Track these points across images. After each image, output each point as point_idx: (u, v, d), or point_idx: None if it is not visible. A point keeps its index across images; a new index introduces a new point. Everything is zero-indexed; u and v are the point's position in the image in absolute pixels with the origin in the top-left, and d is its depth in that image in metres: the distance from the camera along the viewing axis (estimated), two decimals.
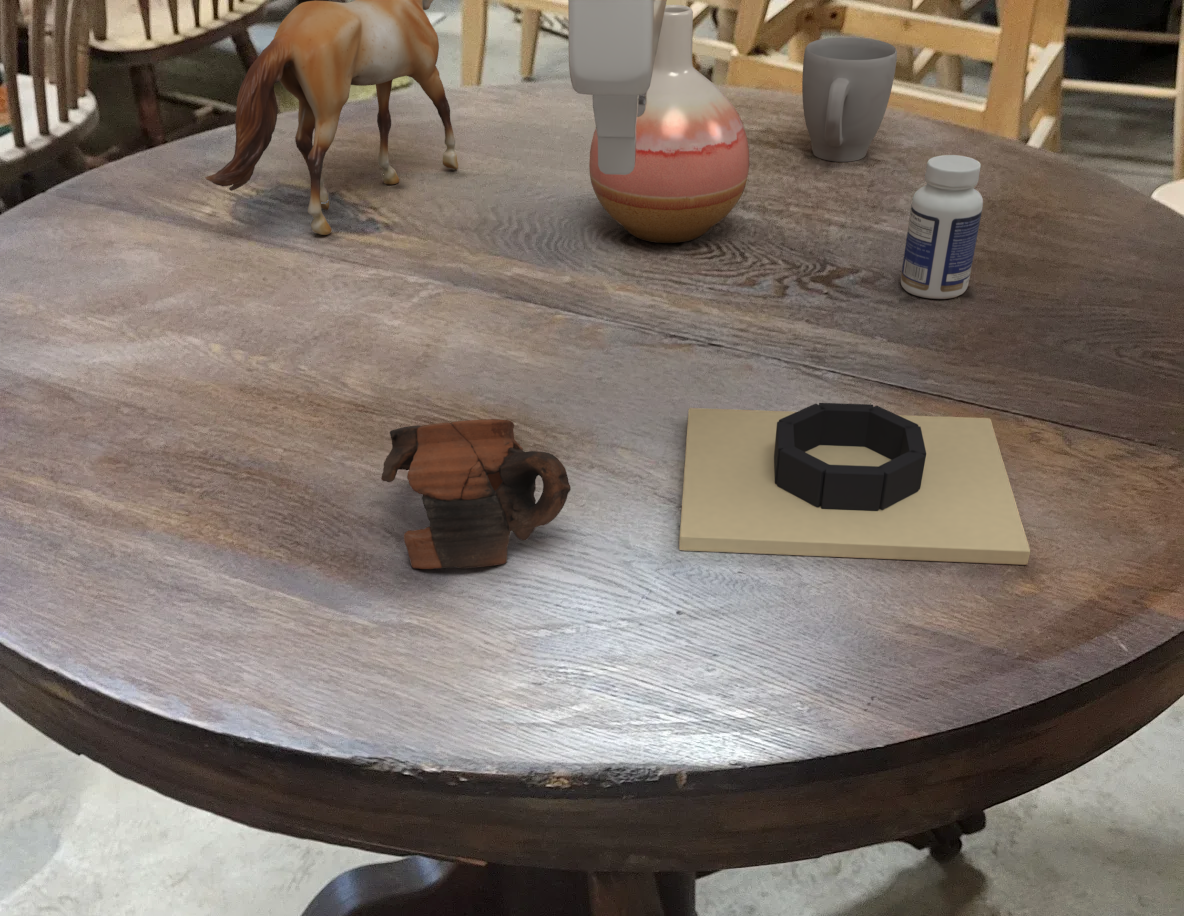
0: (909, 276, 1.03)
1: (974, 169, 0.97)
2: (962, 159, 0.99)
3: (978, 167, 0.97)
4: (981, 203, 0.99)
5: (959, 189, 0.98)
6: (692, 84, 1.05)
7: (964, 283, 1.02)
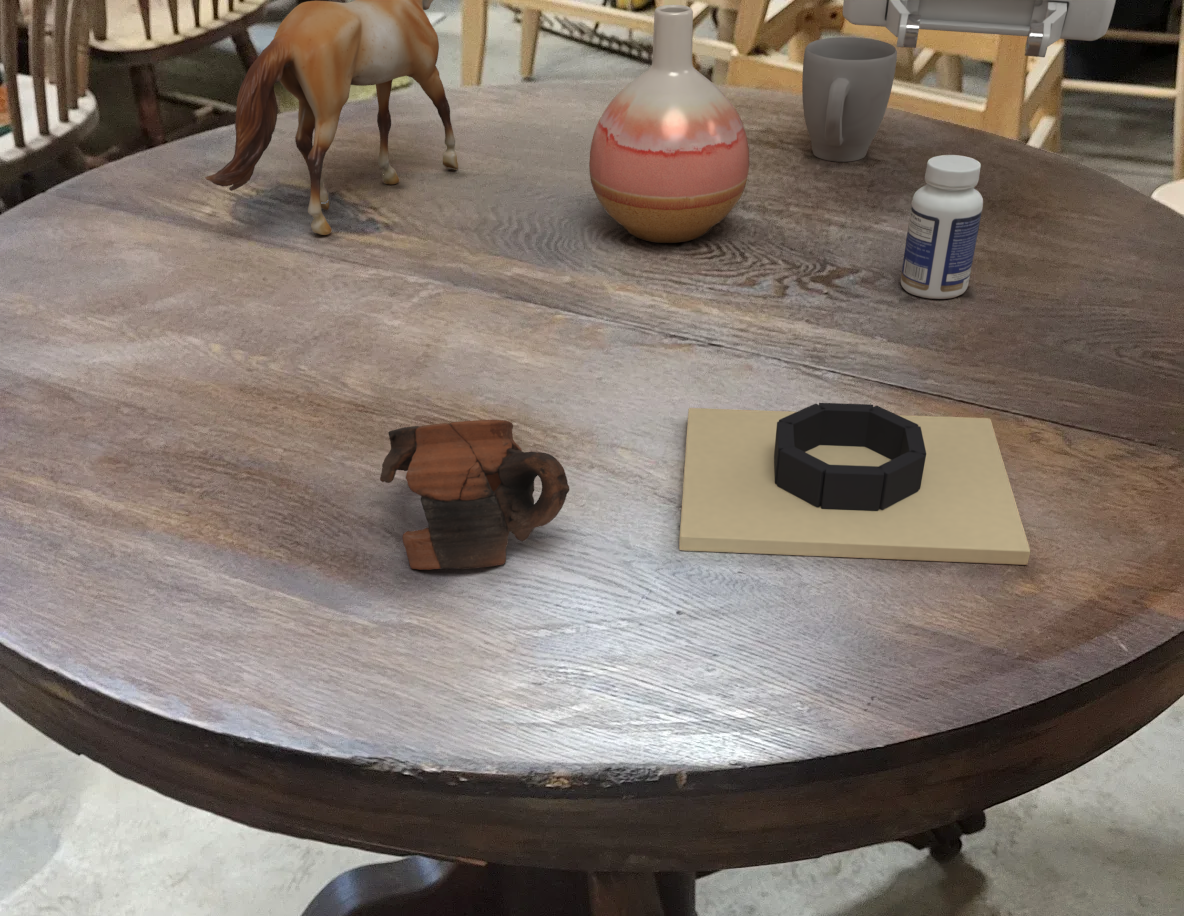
0: (909, 276, 1.03)
1: (974, 169, 0.97)
2: (962, 159, 0.99)
3: (978, 167, 0.97)
4: (981, 203, 0.99)
5: (959, 189, 0.98)
6: (692, 84, 1.05)
7: (964, 283, 1.02)
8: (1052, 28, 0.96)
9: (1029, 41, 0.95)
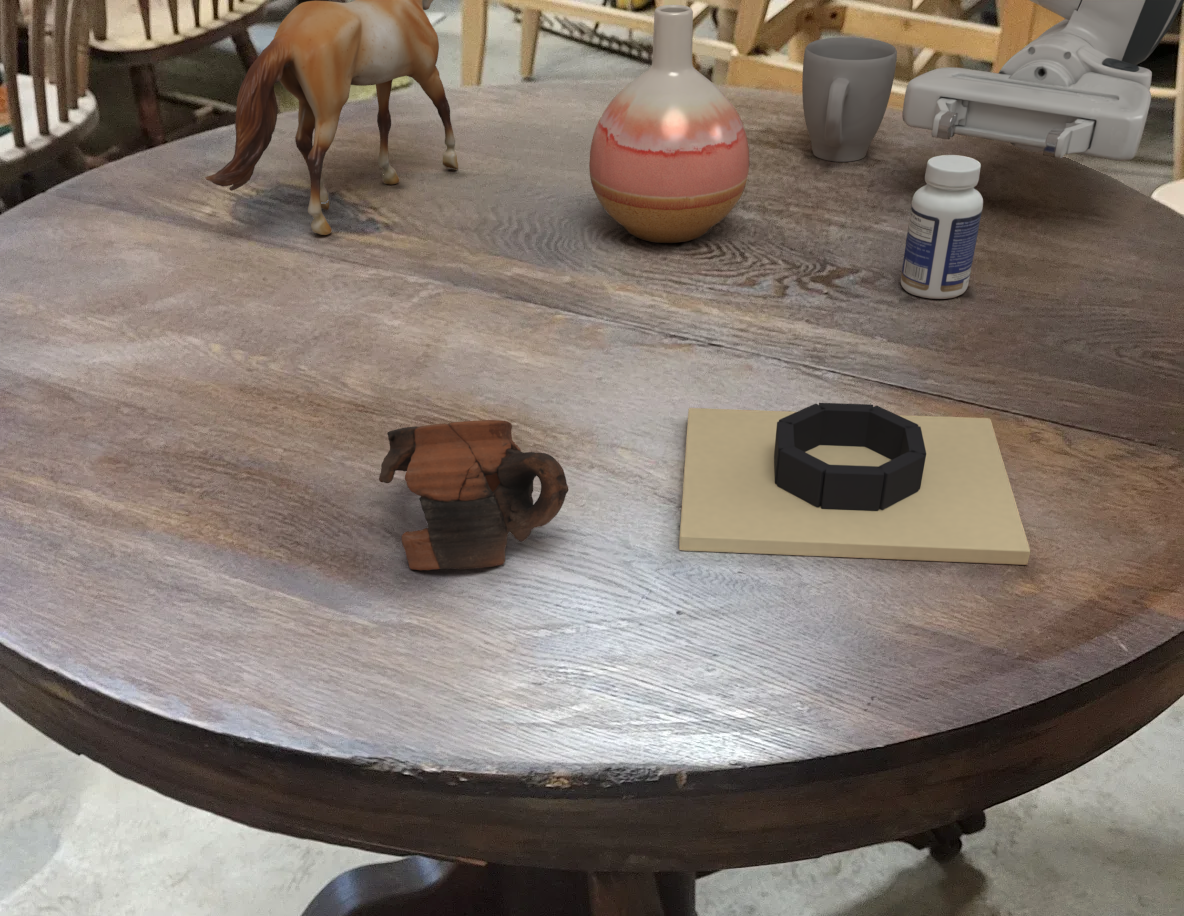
0: (909, 276, 1.03)
1: (974, 169, 0.97)
2: (962, 159, 0.99)
3: (978, 167, 0.97)
4: (981, 203, 0.99)
5: (959, 189, 0.98)
6: (692, 84, 1.05)
7: (964, 283, 1.02)
8: (1073, 136, 1.05)
9: (1046, 140, 1.04)
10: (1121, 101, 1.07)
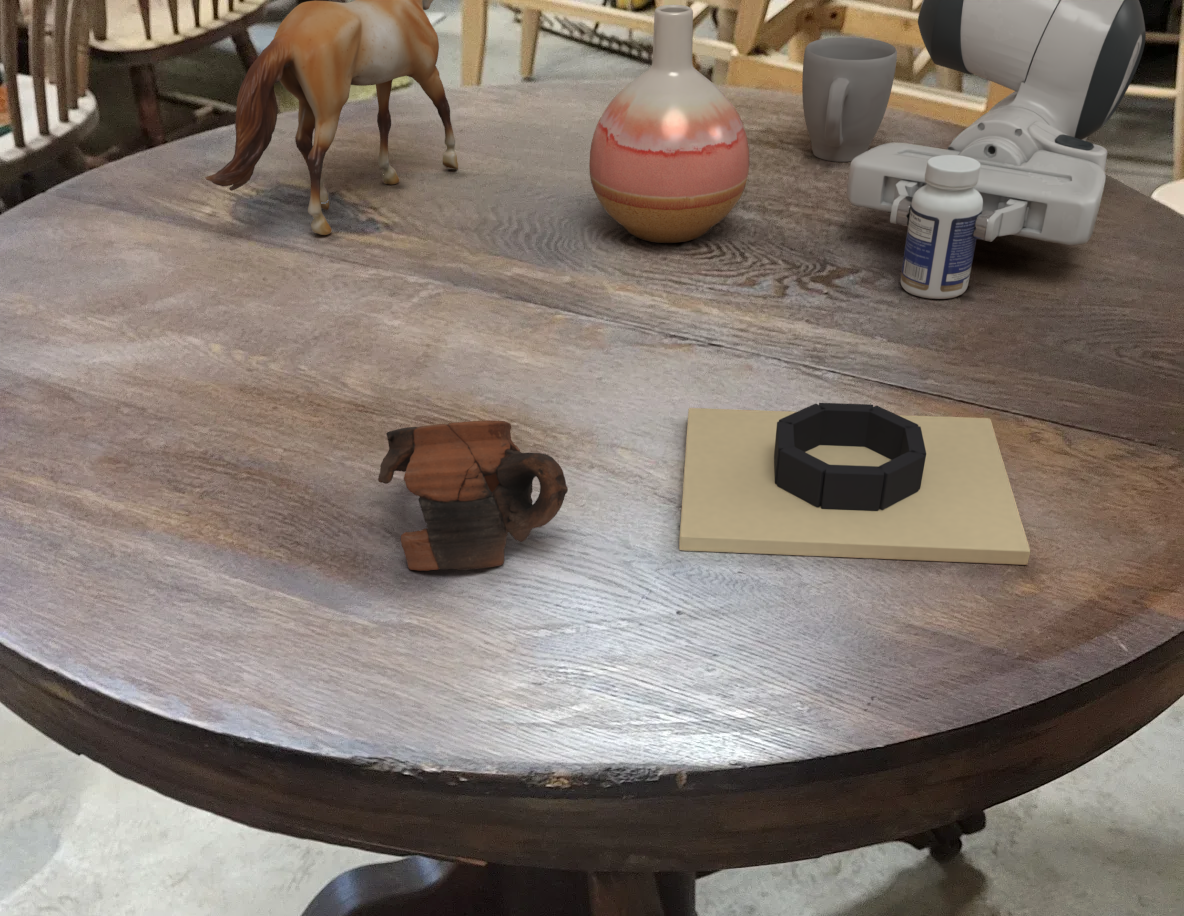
0: (909, 276, 1.03)
1: (974, 169, 0.97)
2: (962, 159, 0.99)
3: (978, 167, 0.97)
4: (981, 203, 0.99)
5: (959, 189, 0.98)
6: (692, 84, 1.05)
7: (964, 283, 1.02)
8: (1004, 218, 1.00)
9: (975, 223, 0.99)
10: (1074, 182, 1.02)
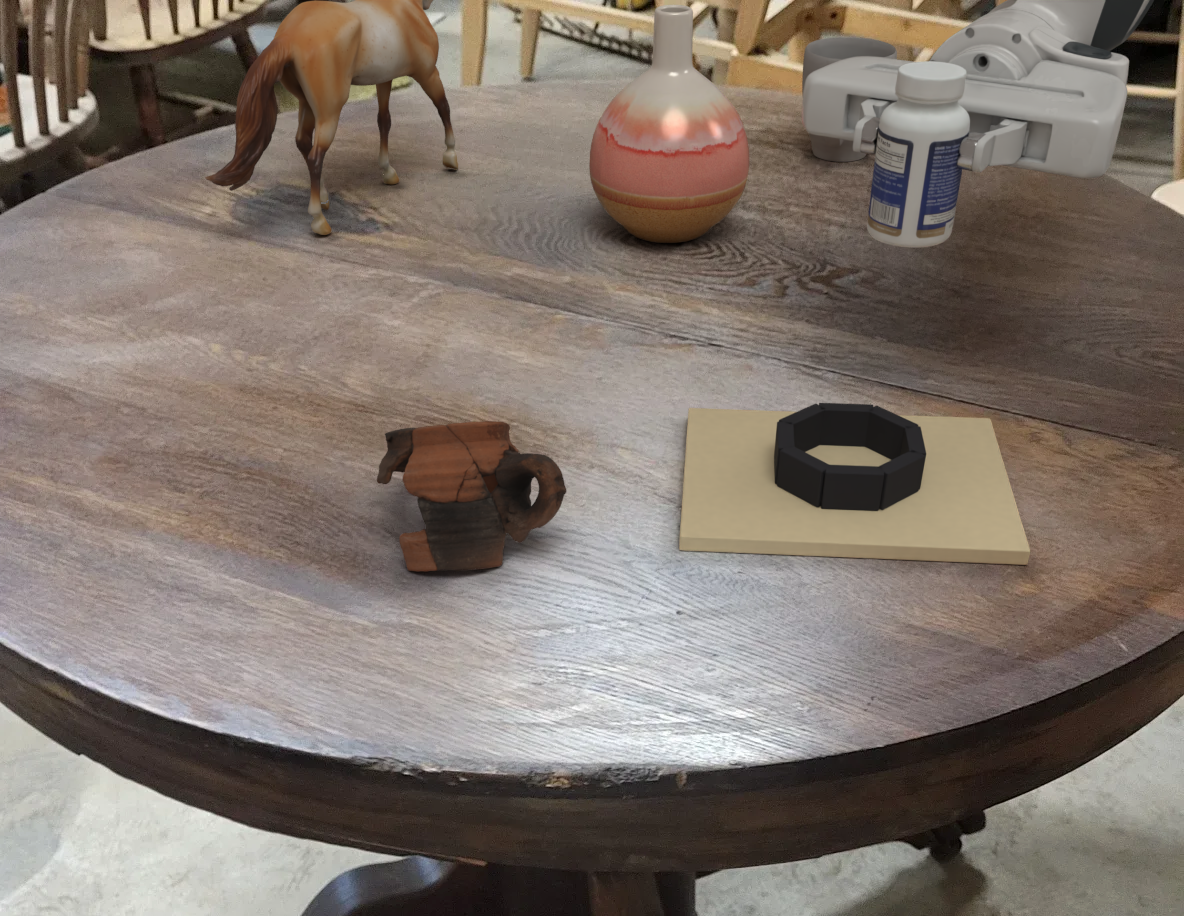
0: (877, 218, 0.81)
1: (958, 76, 0.75)
2: (943, 66, 0.77)
3: (963, 74, 0.76)
4: (967, 122, 0.77)
5: (939, 103, 0.76)
6: (692, 84, 1.05)
7: (947, 228, 0.81)
8: (997, 142, 0.78)
9: (960, 149, 0.77)
10: (1087, 99, 0.80)
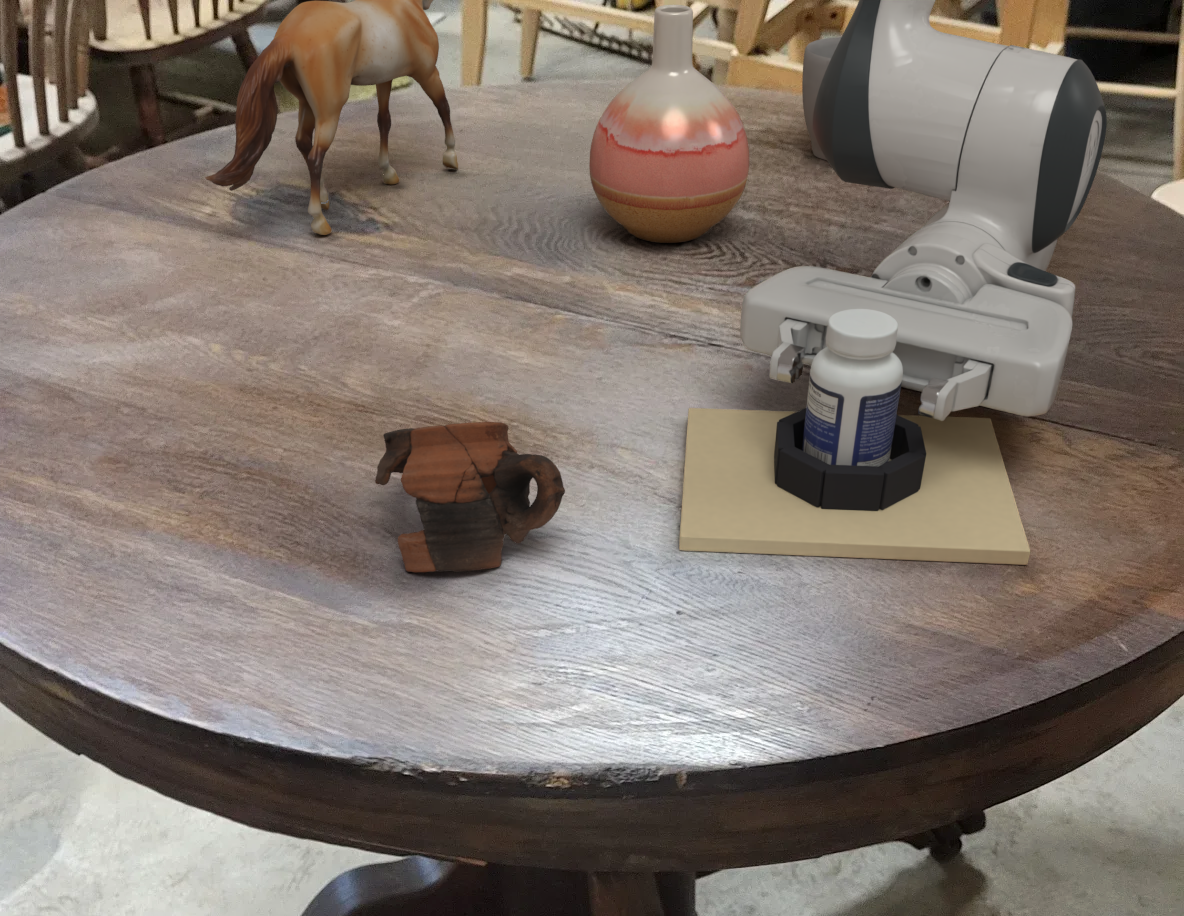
0: None
1: (889, 333, 0.73)
2: (874, 317, 0.75)
3: (894, 330, 0.73)
4: (900, 374, 0.75)
5: (869, 359, 0.74)
6: (692, 84, 1.05)
7: None
8: (960, 389, 0.75)
9: (922, 398, 0.74)
10: (1030, 332, 0.77)
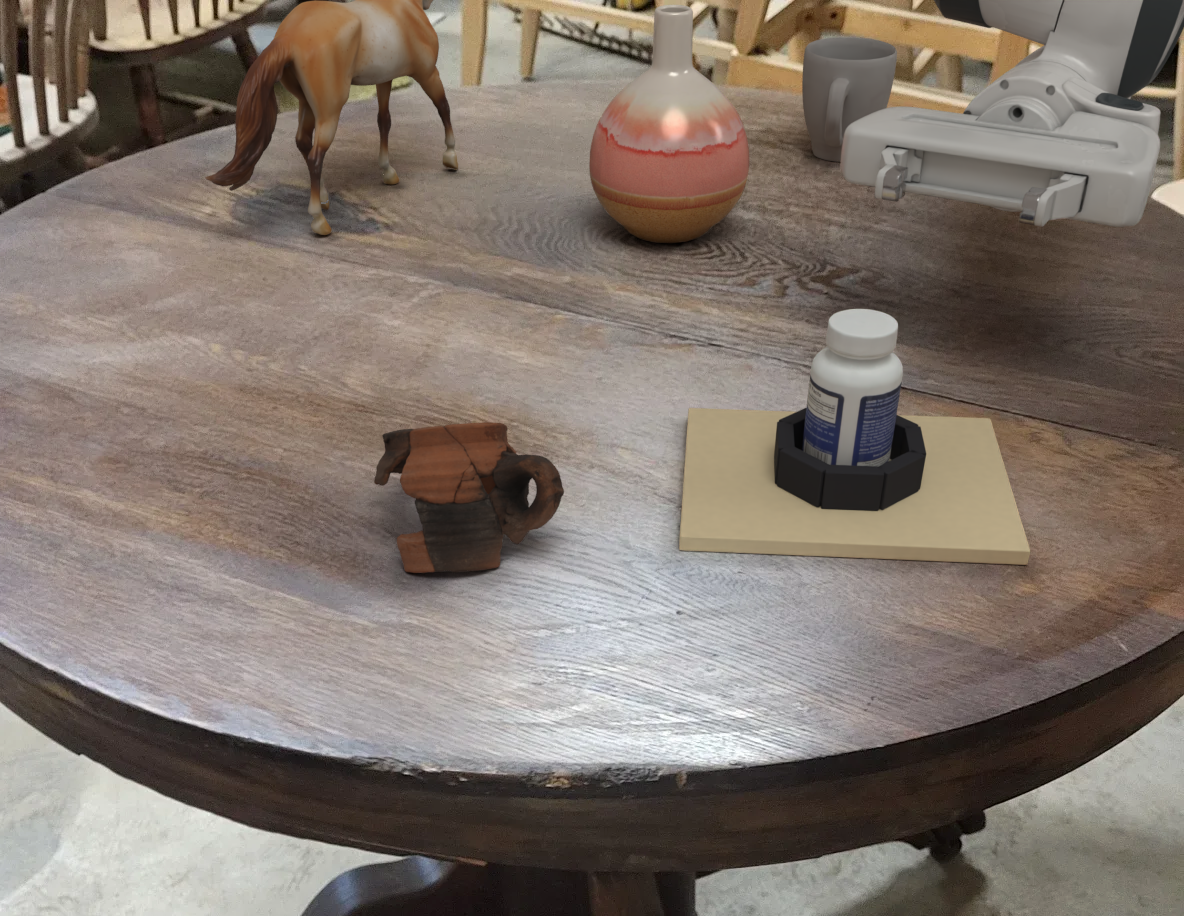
0: None
1: (889, 333, 0.73)
2: (874, 317, 0.75)
3: (894, 330, 0.73)
4: (900, 374, 0.75)
5: (869, 359, 0.74)
6: (692, 84, 1.05)
7: None
8: (1058, 197, 0.80)
9: (1023, 204, 0.79)
10: (1121, 149, 0.82)
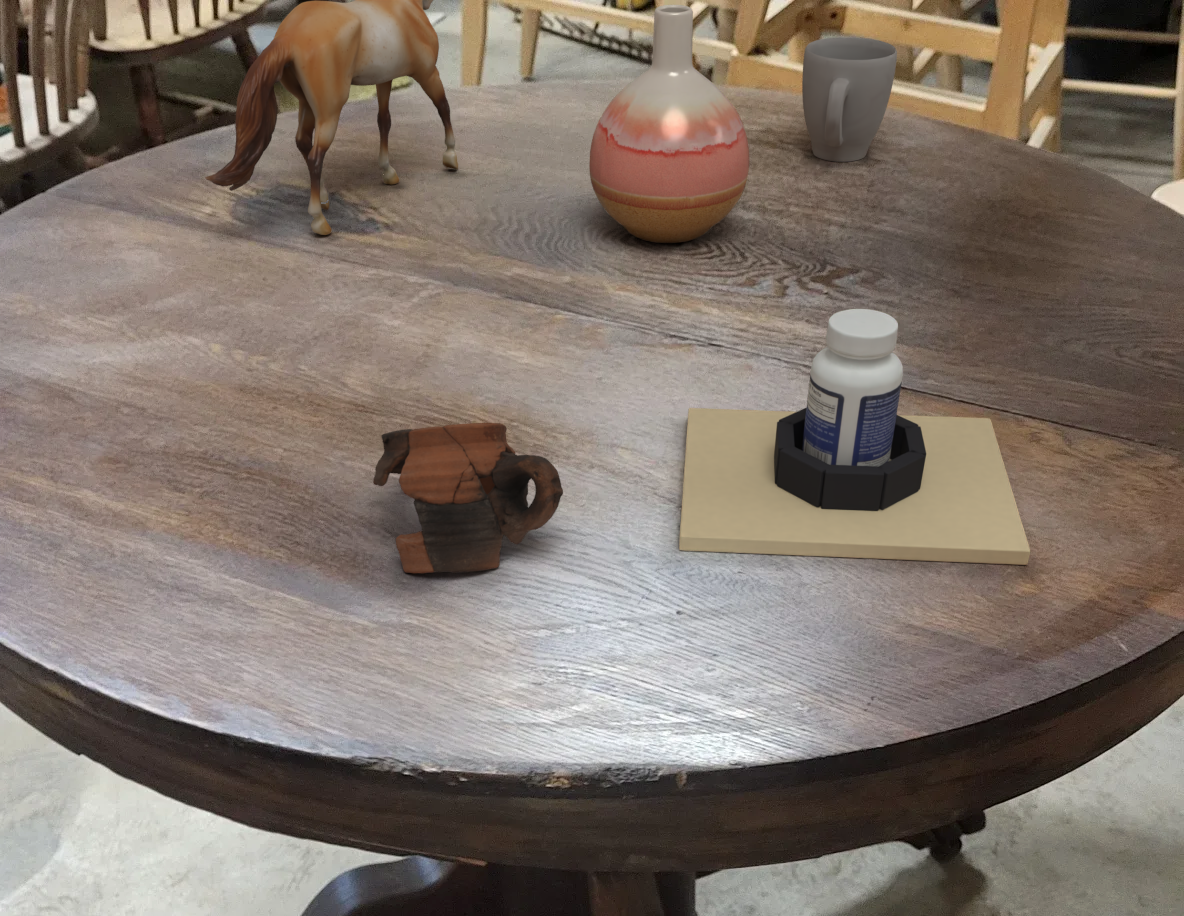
0: None
1: (889, 333, 0.73)
2: (874, 316, 0.75)
3: (894, 330, 0.73)
4: (900, 374, 0.75)
5: (869, 358, 0.74)
6: (692, 84, 1.05)
7: None
8: None
9: None
10: None
